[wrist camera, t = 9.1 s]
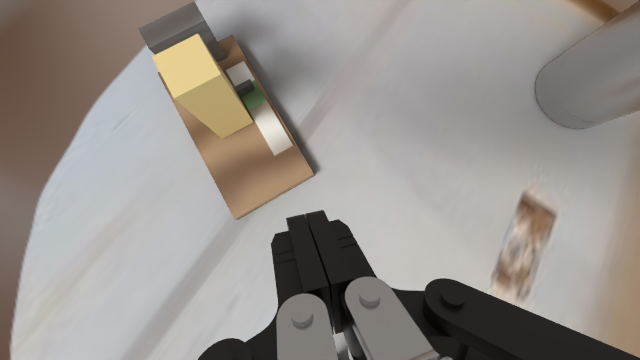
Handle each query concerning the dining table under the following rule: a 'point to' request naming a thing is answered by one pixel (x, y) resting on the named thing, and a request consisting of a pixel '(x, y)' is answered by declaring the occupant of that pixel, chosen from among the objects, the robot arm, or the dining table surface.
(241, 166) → the base
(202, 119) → the block
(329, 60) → the dining table surface
